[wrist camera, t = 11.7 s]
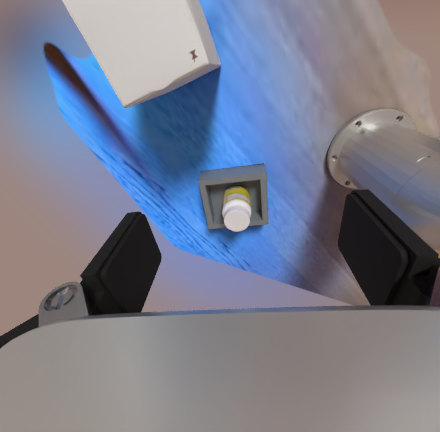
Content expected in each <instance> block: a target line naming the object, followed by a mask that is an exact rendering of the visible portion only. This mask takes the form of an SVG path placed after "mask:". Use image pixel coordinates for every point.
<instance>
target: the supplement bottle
mask: <svg viewBox="0 0 440 432" xmlns="http://www.w3.org/2000/svg"><path fill="white" fill-rule="evenodd" d="M222 215H223V218H224V224H225V226H226V227H227V228H228V229H229V230H231V231H235V232H238V231H242V230H245V229H246V228H247V227H248V226H249V223H250V217H251V203H250V194H249V191H248V189H247V188H246V187H245V186H243V185H240V184H233V185H230V186H229V187H227V189H226V190H225V192H224V197H223V208H222Z"/></svg>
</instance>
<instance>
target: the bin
mask: <svg viewBox="0 0 440 432" xmlns="http://www.w3.org/2000/svg"><path fill="white" fill-rule="evenodd" d="M198 183H199V187H200V192H201V196H202V201H203V205H204V209H205V214H206V218H207V223H208V227H209V229H218V228H227V227H226V226H225V224H224V218H223V215H222V208H223V197H224V192H225V190H226V189H227V187H229V186H230V185H233V184H240V185H243V186H245V187H246V188H247V189H248V191H249V194H250V203H251V217H250V223H249V226H254V225H266V224H268V198H267V173H266V169H265V166H264V164H257V165H248V166H240V167H232V168H223V169H215V170H207V171H201V174H200V177H199V179H198Z"/></svg>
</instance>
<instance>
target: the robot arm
mask: <svg viewBox="0 0 440 432" xmlns="http://www.w3.org/2000/svg"><path fill="white" fill-rule="evenodd" d="M356 122H357V124H356ZM332 156H334V157H332ZM327 166H328V169H329V172H330V174H331V176H332V177H333V178H334V179H335V181H337V182H338V183H339V184H340V185H342V186H344V187H347V188H351V189H359V190H354V191H352V192H351V194H348V195H347V197H346V201H345V207H344V212H343V217H342V223H341V228H340V234H339V239H338V247H339V250H340V251H341V253H342V255H343V257H344V259H345V260H346V262H347V264H348V266H349V267H350V269H351V271H352V273H353V275H354V276H355V278H356V280H357V282H358V283H359V285H360V287H361V289H362V291H363V292H364V294H365V296H366V298H367V300H368V301H369V303H370V306H323V307H287V308H286V307H285V308H255V309H224V310H223V309H222V310H193V311H168V312H167V311H166V312H141V311H142V308H143V306H144V303H145V301H146V298H147V295H148V293H149V290H150V288H151V285H152V283H153V280H154V278H155V275H156V272H157V270H158V267H159V265H160V262H161V253H160V250H159V248H158V245H157V243H156V241H155V238H154V236H153V233H152V231H151V228H150V226H149V223H148V221H147V218H146V216H145V215H144V214H142V213H141V212H131V213H127V214H126V215H125V217H124V218H123V220H122V221H121V222H120V223H119V225H118V226H117V227H116V229H115V230H114V231H113V233H112V234H111V235H110V237H109V238H108V239H107V241H106V242H105V243H104V245H103V246H102V247H101V249H100V250H99V251H98V253H97V254H96V255H95V257H94V258H93V259H92V261H91V262H90V263H89V265H88V266H87V268H86V269H85V270H84V271H83V273H82V274H81V275H80V276H81V277H82V279H83V280H82V281H81V283H78V282H68V283H65V284H62V285H60V286H58V287H57V288H55V289H53V290H52V291H51V292H50V293H48V294H47V295H46V296H45V298H44V299H43V300H42V302H41V303H40V306H39V314H38V315H36V316H34V317H32V318H31V319H29V320H27V321H26V322H24V323H22V324H20V325H19V326H17V327H15V328H14V329H12V330H10V331H9V332H7V333H5V334H4V335H2V336H0V432H440V259H439V258H438V255H439V254H438V253H436V252H435V251H434V250H433V249H436V250H440V137H432V136H429V135H426V134H423V133H421V132H418V131H417V129H416V125H415V123H414V122H413V120H412V119H411V118H410V117H409V116H408V115H407V114H405V113H403V112H400V111H398V110H394V109H385V108H382V109H375V110H371V111H368V112H365V113H363V114H361V115H359V116H357V117H355V118H354V119H352V120H351V121H349V122H348V123H347V124H346V125H345V126H344V127H343V128H342V129H341V130H340V131H339V132H338V133H337V135H336V136H335V138H334V139H333V141H332V143H331V145H330V148H329V151H328V156H327Z"/></svg>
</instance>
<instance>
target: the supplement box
mask: <svg viewBox="0 0 440 432" xmlns="http://www.w3.org/2000/svg"><path fill="white" fill-rule="evenodd" d="M62 1H63V2H64V5H65V6H66V8H67V10H68V12H69V13H70V15H71V17H72V18H73V20H74V22H75V24H76V25H77V26H78V29H79V30H80V32H81V34H82V35H83V37H84V39H85V40H86V42H87V44H88V45H89V47H90V48H91V51H92V52H93V54H94V56H95V58H96V59H97V61H98V63H99V65H100V66H101V68H102V70H103V72H104V73H105V75H106V77H107V79H108V80H109V82H110V84H111V86H112V87H113V89H114V91H115V93H116V94H117V96H118V98H119V100H120V101H121V103H122V105H123V107H124V108H128V107H131V106H134V105H137V104H139V103H142V102H145V101H147V100H150V99H153V98H155V97H158V96H161V95H163V94H166V93H169V92H171V91H173V90H175V89H177V88H179V87H181V86H183V85H185V84H187V83H189V82H191V81H193V80H195V79H197V78H199V77H201V76H203V75H205V74H207V73H209V72H211V71H213V70H215V69H217V68H219V67H220V66H221V63H220V59H219V57H218V54H217V51H216V48H215V45H214V42H213V39H212V35H211V33H210V30H209V27H208V24H207V21H206V18H205V15H204V12H203V9H202V6H201V3H200V1H199V0H62Z"/></svg>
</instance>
